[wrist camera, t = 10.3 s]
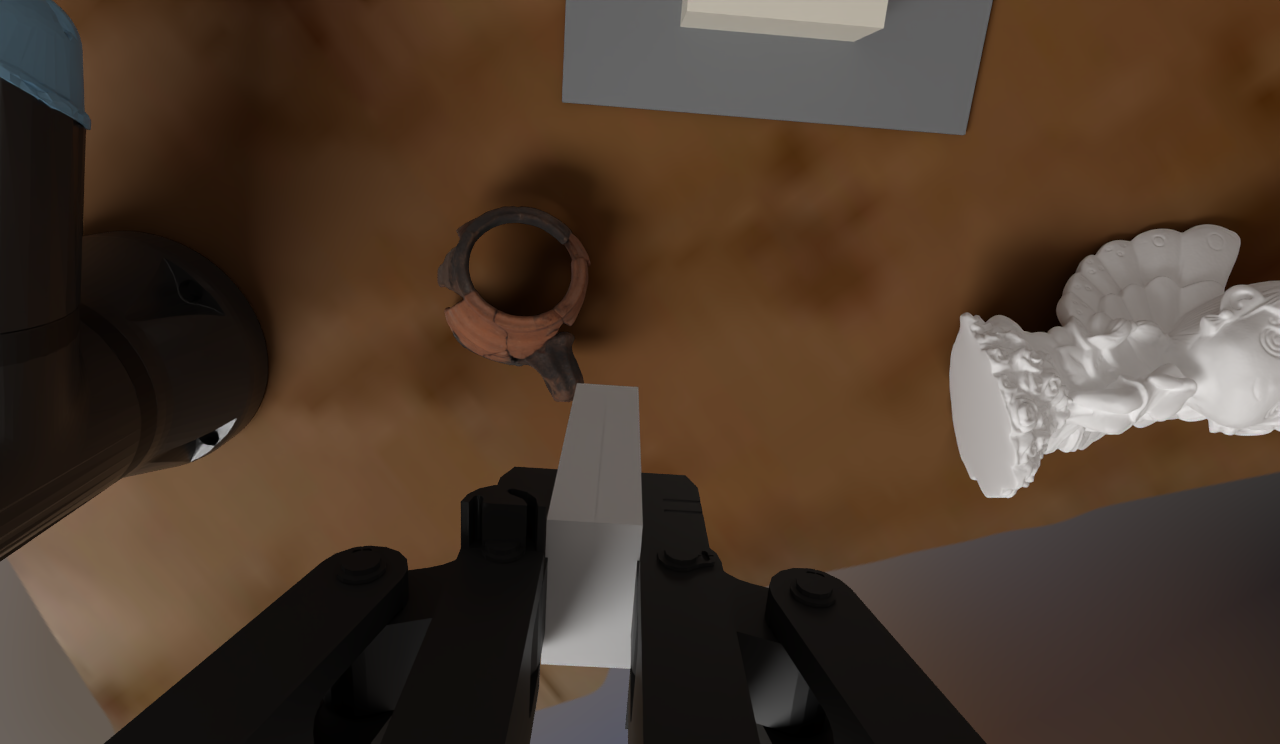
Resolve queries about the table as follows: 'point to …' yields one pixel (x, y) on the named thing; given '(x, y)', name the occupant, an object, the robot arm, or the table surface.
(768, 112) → the grey mat
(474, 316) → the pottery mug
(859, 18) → the cream block
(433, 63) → the table surface
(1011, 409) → the cherub figurine
